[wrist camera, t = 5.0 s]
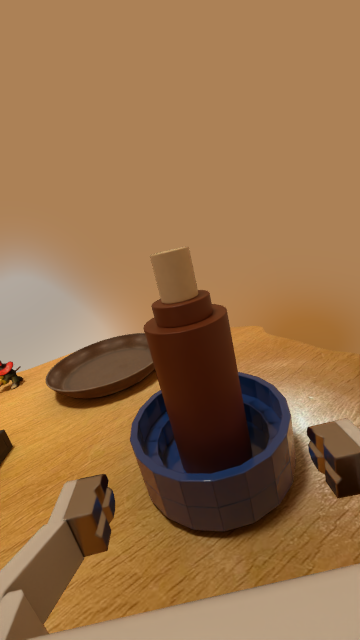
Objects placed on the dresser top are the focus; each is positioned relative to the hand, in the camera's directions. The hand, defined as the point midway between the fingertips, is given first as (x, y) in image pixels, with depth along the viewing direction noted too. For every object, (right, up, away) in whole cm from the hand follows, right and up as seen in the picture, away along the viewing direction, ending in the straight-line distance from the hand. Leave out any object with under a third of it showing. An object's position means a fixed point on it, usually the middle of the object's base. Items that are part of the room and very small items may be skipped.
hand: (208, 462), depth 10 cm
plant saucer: (-13, -4, +36) cm, 38 cm away
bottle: (+2, -6, +13) cm, 15 cm away
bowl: (+2, -7, +13) cm, 15 cm away
